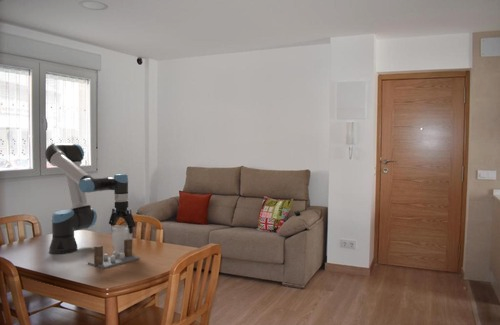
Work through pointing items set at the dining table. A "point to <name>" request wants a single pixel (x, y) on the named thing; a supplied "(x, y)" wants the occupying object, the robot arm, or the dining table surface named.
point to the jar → (119, 238)
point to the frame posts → (99, 252)
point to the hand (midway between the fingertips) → (122, 237)
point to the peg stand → (114, 260)
